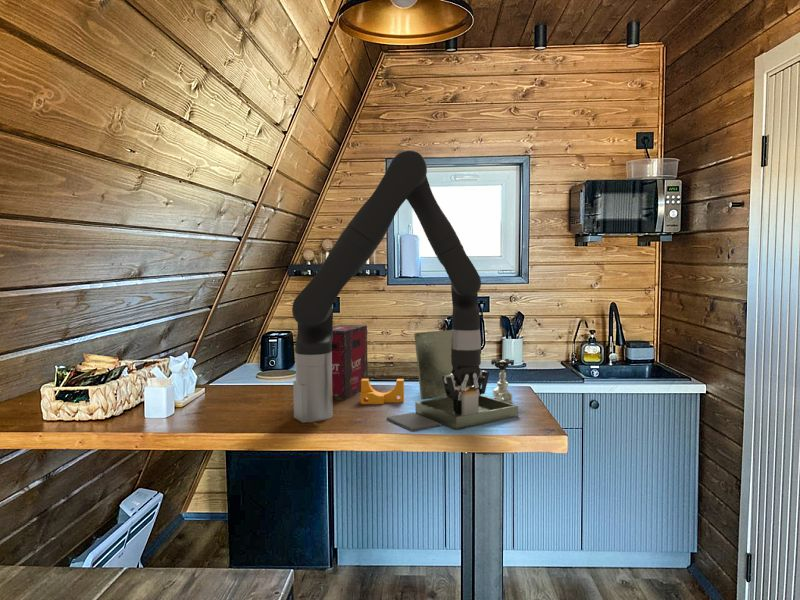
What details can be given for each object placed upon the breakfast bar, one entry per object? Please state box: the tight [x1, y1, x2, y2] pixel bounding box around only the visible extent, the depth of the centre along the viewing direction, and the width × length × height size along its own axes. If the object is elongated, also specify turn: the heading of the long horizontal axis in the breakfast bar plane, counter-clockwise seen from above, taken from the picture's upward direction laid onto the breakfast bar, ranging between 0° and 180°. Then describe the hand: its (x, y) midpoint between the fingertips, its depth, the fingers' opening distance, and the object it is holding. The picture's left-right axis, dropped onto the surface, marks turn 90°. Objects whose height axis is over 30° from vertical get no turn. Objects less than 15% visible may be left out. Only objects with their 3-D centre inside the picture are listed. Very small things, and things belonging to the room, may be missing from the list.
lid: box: [413, 329, 469, 401], centre depth 152 cm, size 16×18×2 cm
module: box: [454, 388, 478, 415], centre depth 143 cm, size 4×4×6 cm
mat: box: [386, 412, 441, 432], centre depth 137 cm, size 8×12×1 cm, turn 32°
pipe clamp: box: [359, 378, 405, 405], centre depth 158 cm, size 12×4×6 cm, turn 86°
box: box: [332, 324, 369, 401], centre depth 170 cm, size 16×9×20 cm, turn 160°
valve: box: [490, 358, 515, 404], centre depth 156 cm, size 7×7×12 cm
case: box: [414, 394, 519, 431], centre depth 145 cm, size 20×22×11 cm
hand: (466, 412), depth 143 cm, fingers closed on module, 4 cm apart
